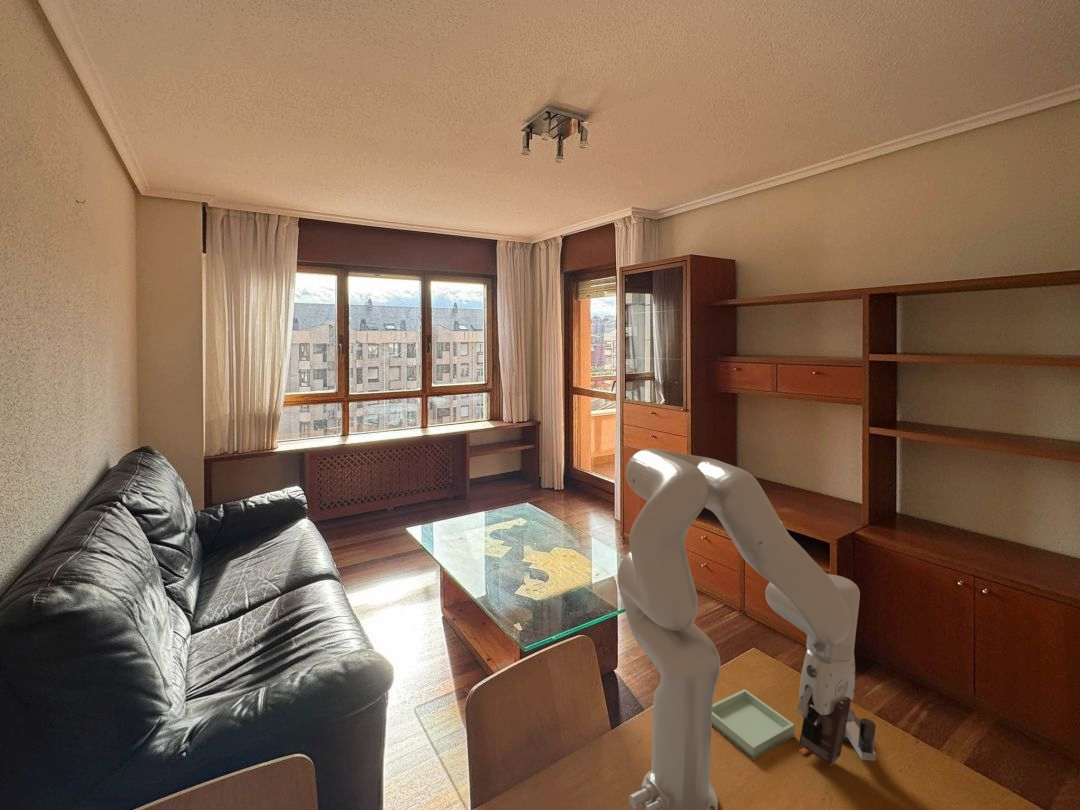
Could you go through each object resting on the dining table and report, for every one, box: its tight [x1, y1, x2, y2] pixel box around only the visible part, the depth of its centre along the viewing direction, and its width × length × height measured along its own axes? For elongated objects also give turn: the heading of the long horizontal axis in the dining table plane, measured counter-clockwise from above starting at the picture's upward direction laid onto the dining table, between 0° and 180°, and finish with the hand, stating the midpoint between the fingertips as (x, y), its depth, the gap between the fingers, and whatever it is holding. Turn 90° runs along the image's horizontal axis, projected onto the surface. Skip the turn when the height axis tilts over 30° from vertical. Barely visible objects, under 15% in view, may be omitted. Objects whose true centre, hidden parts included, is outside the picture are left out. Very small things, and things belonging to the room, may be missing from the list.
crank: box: [845, 707, 877, 762], centre depth 100 cm, size 12×4×6 cm, turn 174°
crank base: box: [798, 715, 861, 756], centre depth 102 cm, size 16×7×2 cm, turn 119°
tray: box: [712, 688, 795, 761], centre depth 105 cm, size 12×12×2 cm
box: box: [798, 698, 852, 766], centre depth 96 cm, size 6×4×12 cm
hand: (820, 734), depth 97 cm, fingers closed on box, 4 cm apart
